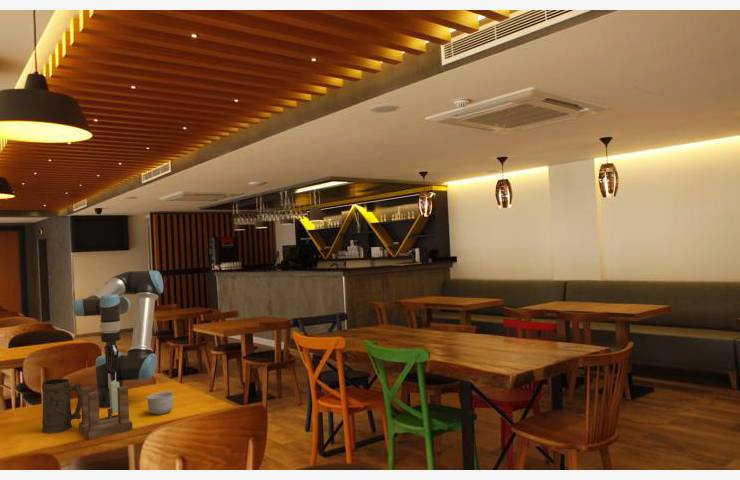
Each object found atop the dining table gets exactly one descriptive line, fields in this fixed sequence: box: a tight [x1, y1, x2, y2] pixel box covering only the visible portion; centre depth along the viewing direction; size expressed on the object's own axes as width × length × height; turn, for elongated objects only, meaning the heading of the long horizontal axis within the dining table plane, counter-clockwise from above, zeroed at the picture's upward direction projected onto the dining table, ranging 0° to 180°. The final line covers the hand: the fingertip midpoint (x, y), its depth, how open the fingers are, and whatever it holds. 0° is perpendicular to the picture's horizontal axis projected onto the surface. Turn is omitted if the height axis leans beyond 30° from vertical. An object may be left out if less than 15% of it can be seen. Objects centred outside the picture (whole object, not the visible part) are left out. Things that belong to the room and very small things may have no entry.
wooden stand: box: [78, 385, 133, 441], centre depth 231 cm, size 16×16×17 cm
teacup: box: [146, 391, 174, 416], centre depth 254 cm, size 14×11×8 cm
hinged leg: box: [109, 382, 120, 414], centre depth 239 cm, size 3×3×12 cm
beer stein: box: [41, 378, 82, 434], centre depth 236 cm, size 15×11×20 cm
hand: (112, 387), depth 241 cm, fingers closed
